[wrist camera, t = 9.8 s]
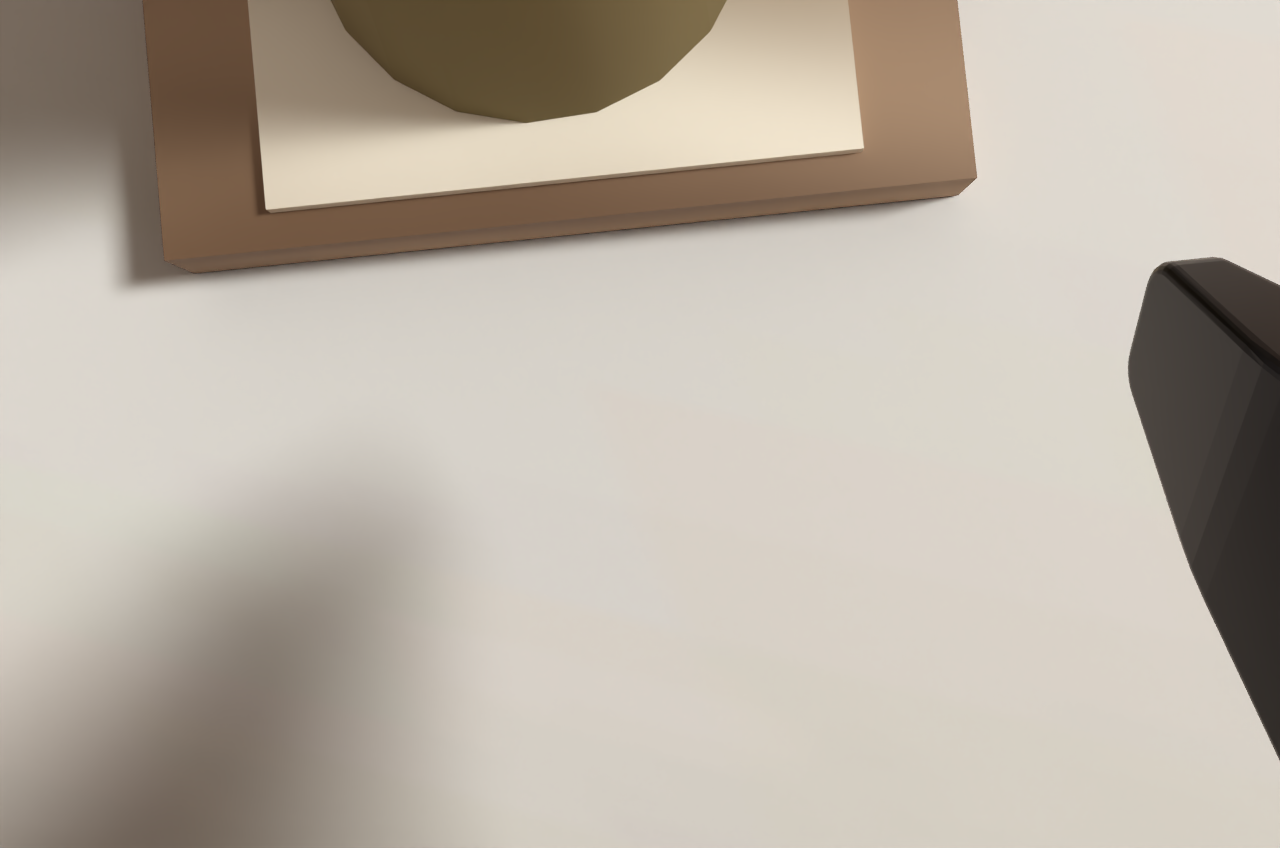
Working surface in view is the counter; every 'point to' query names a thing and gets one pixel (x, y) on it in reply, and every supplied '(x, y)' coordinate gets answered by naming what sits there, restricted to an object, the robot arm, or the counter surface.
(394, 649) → the counter surface
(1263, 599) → the robot arm
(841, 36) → the pin board
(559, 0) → the cork
